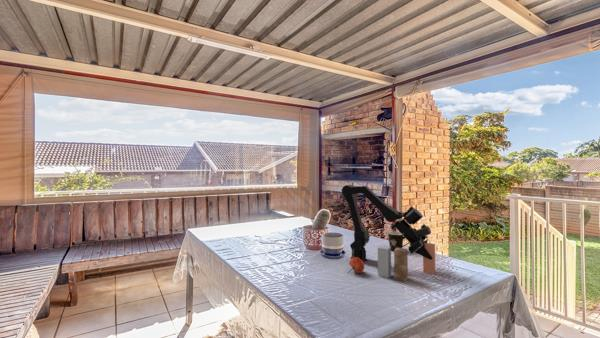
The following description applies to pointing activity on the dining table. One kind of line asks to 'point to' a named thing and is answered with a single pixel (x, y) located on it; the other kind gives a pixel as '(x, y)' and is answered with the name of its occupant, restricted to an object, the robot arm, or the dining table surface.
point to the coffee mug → (396, 240)
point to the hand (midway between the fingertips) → (432, 257)
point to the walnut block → (400, 264)
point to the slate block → (384, 261)
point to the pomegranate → (357, 264)
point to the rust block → (427, 263)
